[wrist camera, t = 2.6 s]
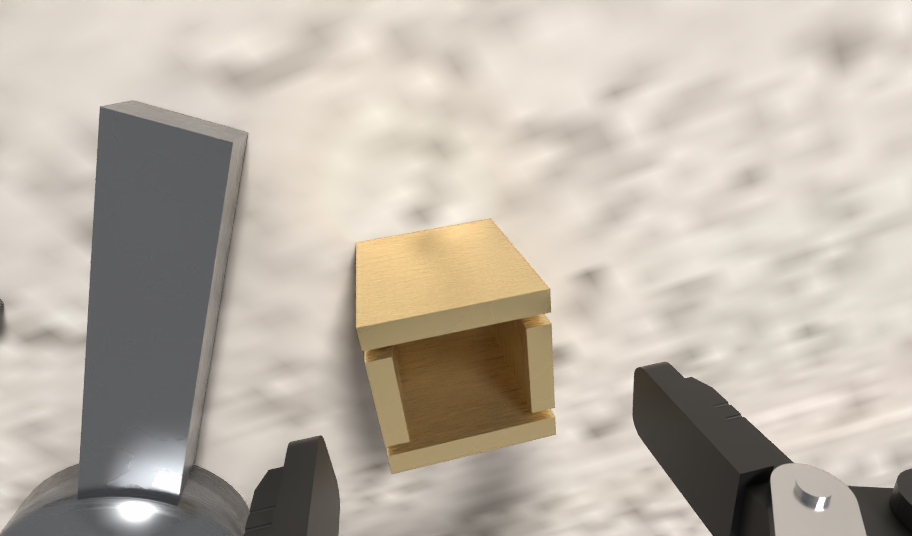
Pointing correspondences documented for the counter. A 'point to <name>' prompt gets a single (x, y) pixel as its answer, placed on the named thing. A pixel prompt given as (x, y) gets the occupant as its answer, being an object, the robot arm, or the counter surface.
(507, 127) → the counter surface
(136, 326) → the ratchet
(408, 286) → the brass cube frame
